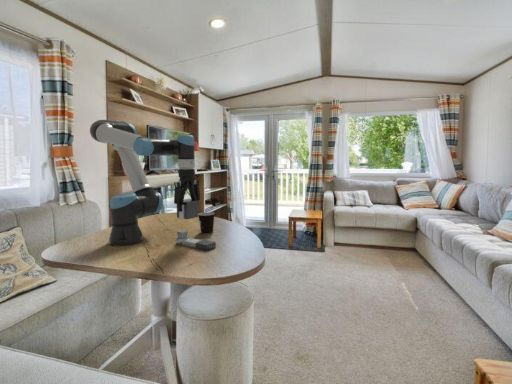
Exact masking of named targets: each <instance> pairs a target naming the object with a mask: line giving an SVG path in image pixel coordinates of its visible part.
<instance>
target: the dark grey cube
mask: <svg viewBox="0 0 512 384" xmlns="http://www.w3.org/2000/svg"><path fill="white" fill-rule="evenodd" d="M183 205H184V219H183V220H191V219H195V218H199V216H198V214H199V201H198V200H192V199H191V198H186V199H185V198H184V200H183ZM176 218H178V219H180V218H179V211H178V204H176Z"/></svg>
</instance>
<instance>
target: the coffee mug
mask: <svg viewBox="0 0 512 384" xmlns="http://www.w3.org/2000/svg"><path fill="white" fill-rule="evenodd" d="M198 220H199V227H200V232H201V234H211V233H214V224H215V212H199V213H198Z"/></svg>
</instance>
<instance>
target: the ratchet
mask: <svg viewBox="0 0 512 384" xmlns="http://www.w3.org/2000/svg"><path fill="white" fill-rule="evenodd" d="M176 232H177V237H176V238H175V243H176V245H180V246H181V245H182V246H187V247H190V248H195V249H198V250H202V251H206V252H207V251H209V250H212V249H214V248H217V247H216V245H217V244H216V241H213V240H208V239H202V240H201V239H197V238H196V239H195V238H193V237H191V238H190V237H189V236H188V230H183V229H182V230H180V231H179V230H178V231H176Z"/></svg>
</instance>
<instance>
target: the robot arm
mask: <svg viewBox="0 0 512 384" xmlns="http://www.w3.org/2000/svg"><path fill="white" fill-rule="evenodd" d="M89 134H90V135H91V138H92V139H93V140H94V141H97V142H99V143H102V144H111V145H112V146H111V147H112V148H113V150H115V151H117V153H118V155H119V158H120V161H121V164H122V166H123V169H124V171H125V174H126V176H127V178H128V182H129V184H130V187H131V189H132V191H131V192H124V193H119V194H115V195H113V196H112V197H111V198H110V200H109V201H110V202H109V208H110V217H111V230H110V234H109V238H108V242H109V243H110V244H112V245H111V246H114V245H120V246H119V247H122V245H123V246H130V245H131V246H132V245H134V244H138V243H140V242H142V241H144V237H143V235H144V234H143V233H142V229H141V228H140V226H139V218H142V217H147V216H154V215H155V214H159V212H160V211H161V210H162V208H163V206H164V205H163V204H164V199H163V196H162V194H161V193H159V192H157V191H155V188H154V187H153V186H151V185H150V184H149V181H148V179H147V176H146V173H145V171H144V168H143V165H142V163H141V161H140V159H139V156H140V157H141V156H142V157H150V156H154V157H155V156H164V157H165V156H166V157H167V156H168V157H169V156H173V157H174V156H177V167H178V171H177V172H178V173H177V174H178V177H179V180H178V181H175V182H173V185H174V196H173V197H174V198H173V203H174V205H175V204H176V205H177V204H178V211H179V218H178V219H182V220H185V219H184V205H183V200H185V195H186V191H187V190H188V192H189V195H190V199H191V200H198V202H199V201H200V200H201V196H200V186H199V183H200V181H199V180H198V179H195V176H196V170H195V167H196V165H195V164H196V163H195V147H196V145H195V144H196V143H195V137H194V135H191V134H178V135H177V139H162V138H161V139H160V138H151V137H150V138H149V137H145V136H142V135H139V134H138V132H137V130H136V128H135V126H134V125H133V124H132V123H130V122H127V121H117V120H108V119H98V120H96V121H94V122H93V123H92V124H91V125H90V128H89ZM109 243H108V244H109ZM110 244H109V245H110Z"/></svg>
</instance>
